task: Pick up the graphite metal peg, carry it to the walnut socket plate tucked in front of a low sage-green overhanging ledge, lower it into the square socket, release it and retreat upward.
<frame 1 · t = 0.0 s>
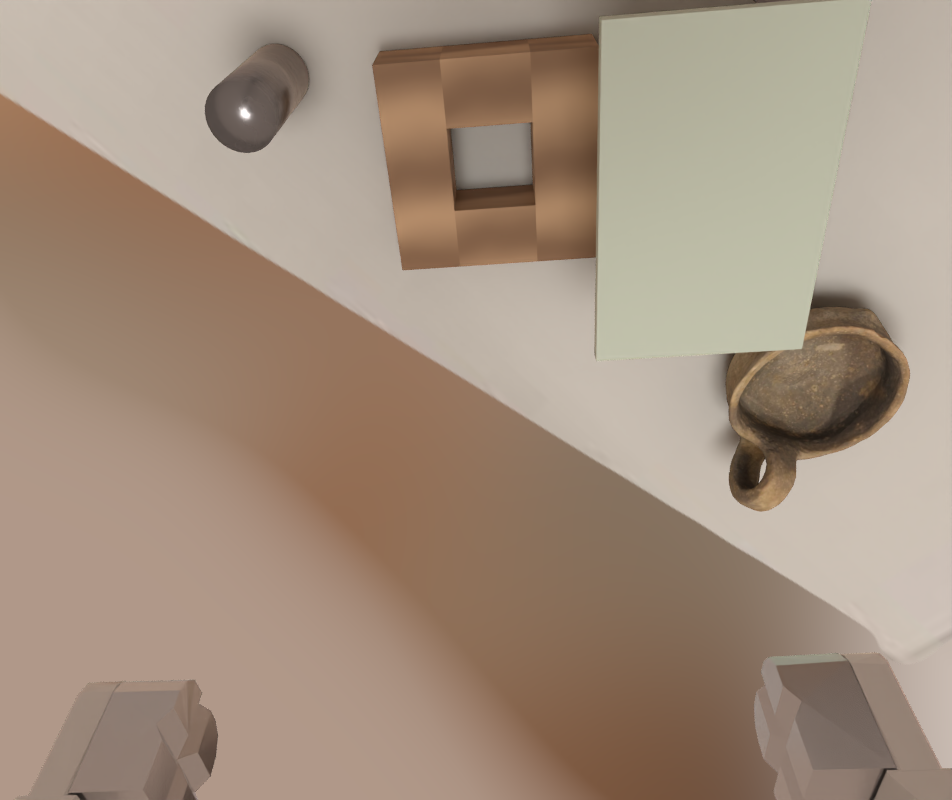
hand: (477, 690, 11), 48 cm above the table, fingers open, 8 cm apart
awning: (689, 166, 48), on the table
peg: (279, 75, 52), on the table
socket plate: (491, 149, 54), on the table
brown rounded scoop: (780, 371, 65), on the table
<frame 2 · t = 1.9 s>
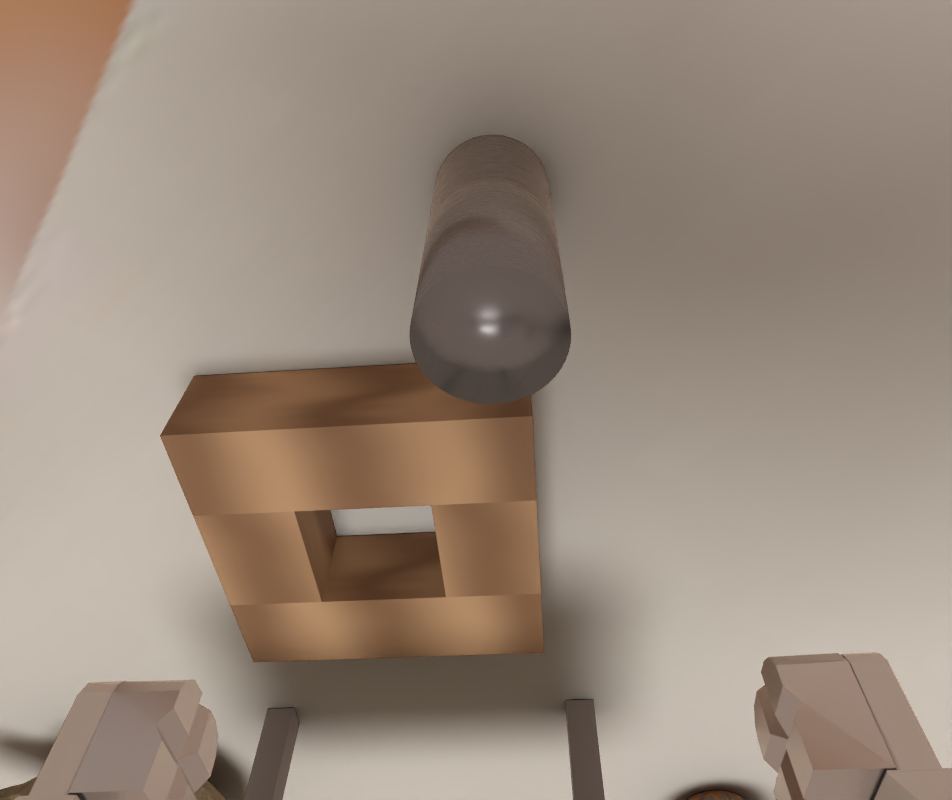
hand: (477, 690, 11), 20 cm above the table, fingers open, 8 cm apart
awning: (407, 769, 38), on the table
peg: (492, 192, 27), on the table
socket plate: (384, 491, 36), on the table
brown rounded scoop: (129, 762, 51), on the table
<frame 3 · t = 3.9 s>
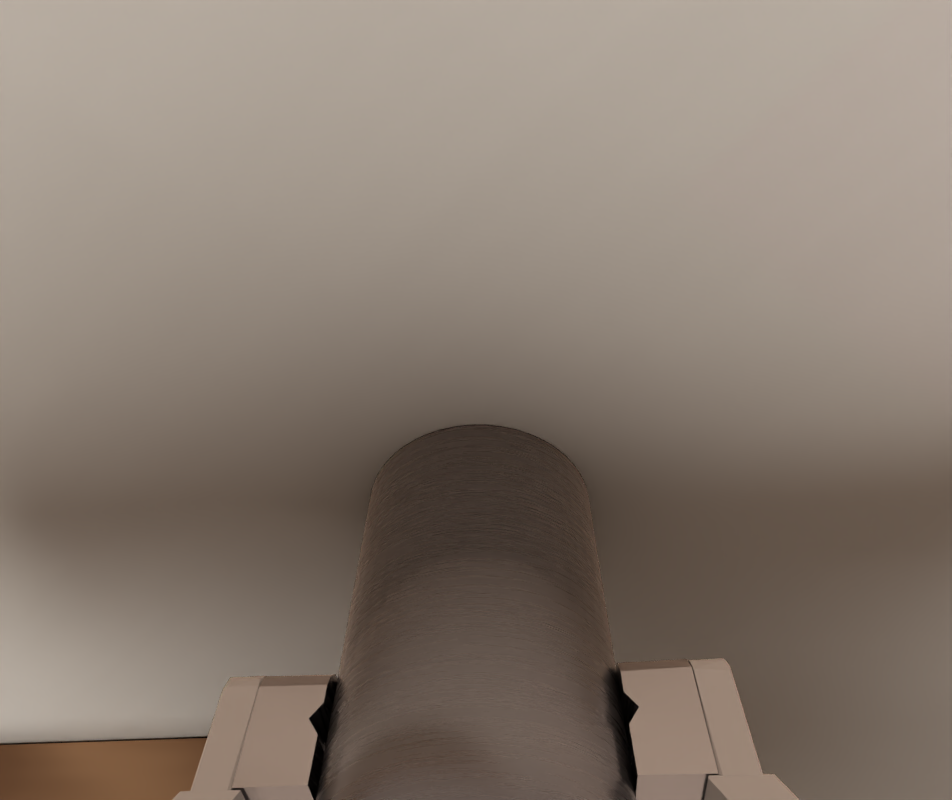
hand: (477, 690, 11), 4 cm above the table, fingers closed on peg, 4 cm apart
peg: (479, 511, 14), on the table, touching gripper
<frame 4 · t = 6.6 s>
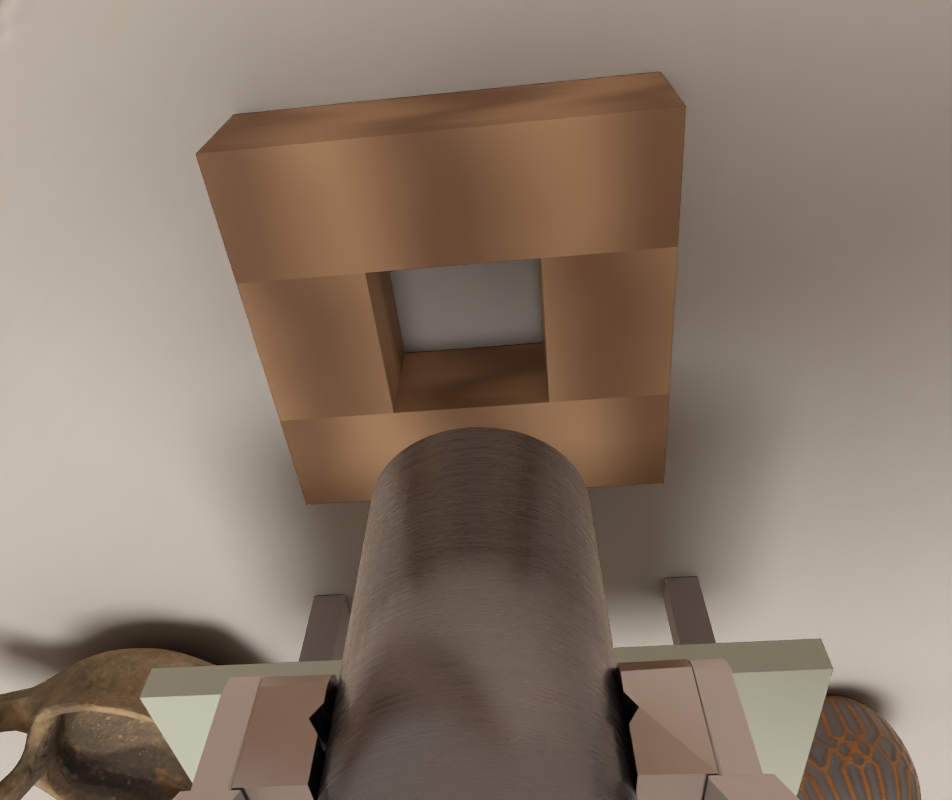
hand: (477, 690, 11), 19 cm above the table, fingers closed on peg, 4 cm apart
awning: (494, 635, 31), on the table
vase: (822, 710, 45), on the table
peg: (480, 513, 14), point 16 cm above the table, touching gripper
socket plate: (465, 285, 29), on the table
brown rounded scoop: (153, 671, 44), on the table
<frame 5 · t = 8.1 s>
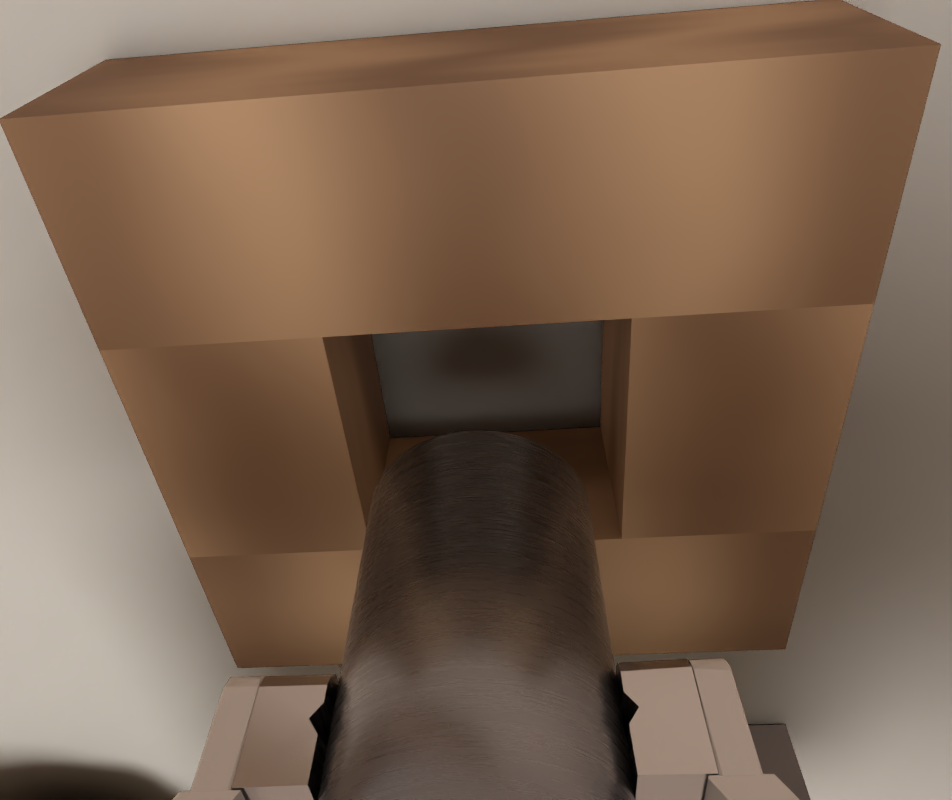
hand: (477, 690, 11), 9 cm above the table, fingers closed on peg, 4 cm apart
peg: (479, 516, 14), point 6 cm above the table, touching gripper
socket plate: (487, 343, 19), on the table
when the fingers open (5 cm above the table, at t = 9.4 s): peg drops 1 cm, resting in socket plate.
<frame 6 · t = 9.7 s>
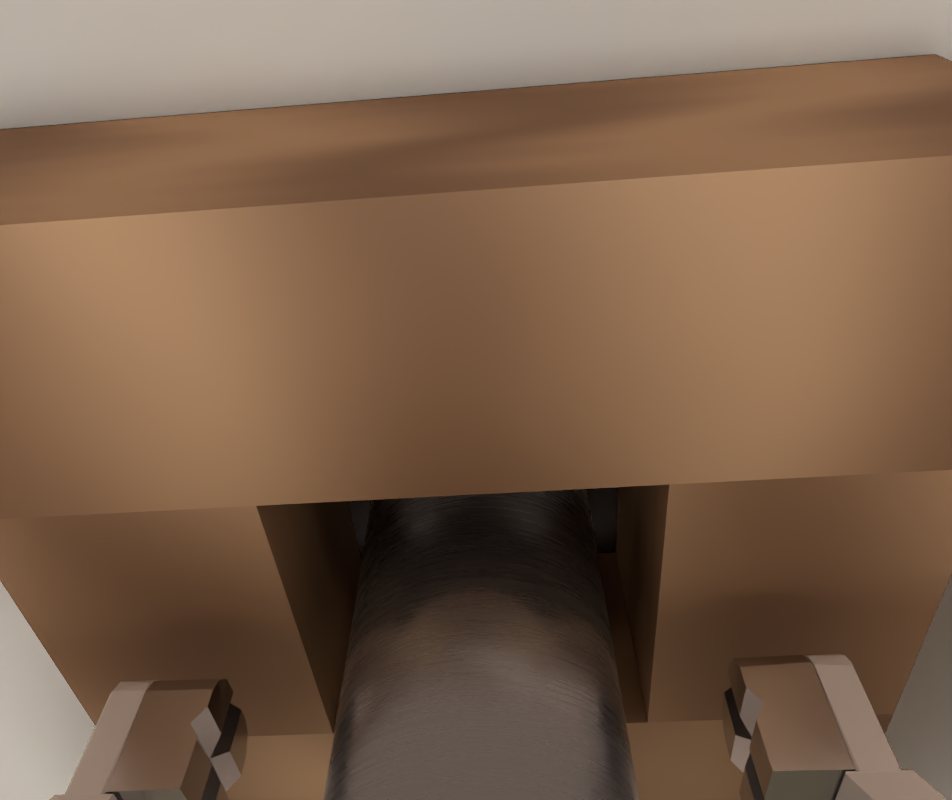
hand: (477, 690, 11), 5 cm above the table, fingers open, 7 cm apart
peg: (479, 464, 15), resting in socket plate
socket plate: (478, 461, 15), on the table
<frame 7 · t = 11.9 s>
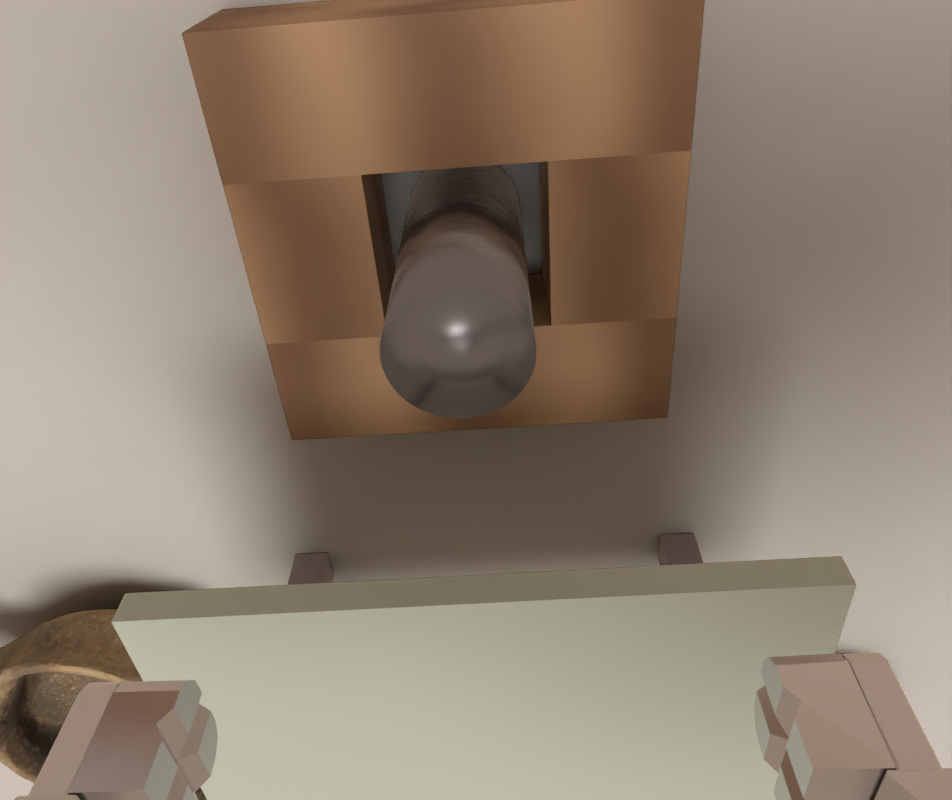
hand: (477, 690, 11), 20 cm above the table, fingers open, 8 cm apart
awning: (488, 581, 29), on the table
peg: (464, 210, 28), resting in socket plate
socket plate: (463, 208, 28), on the table
brown rounded scoop: (122, 639, 42), on the table
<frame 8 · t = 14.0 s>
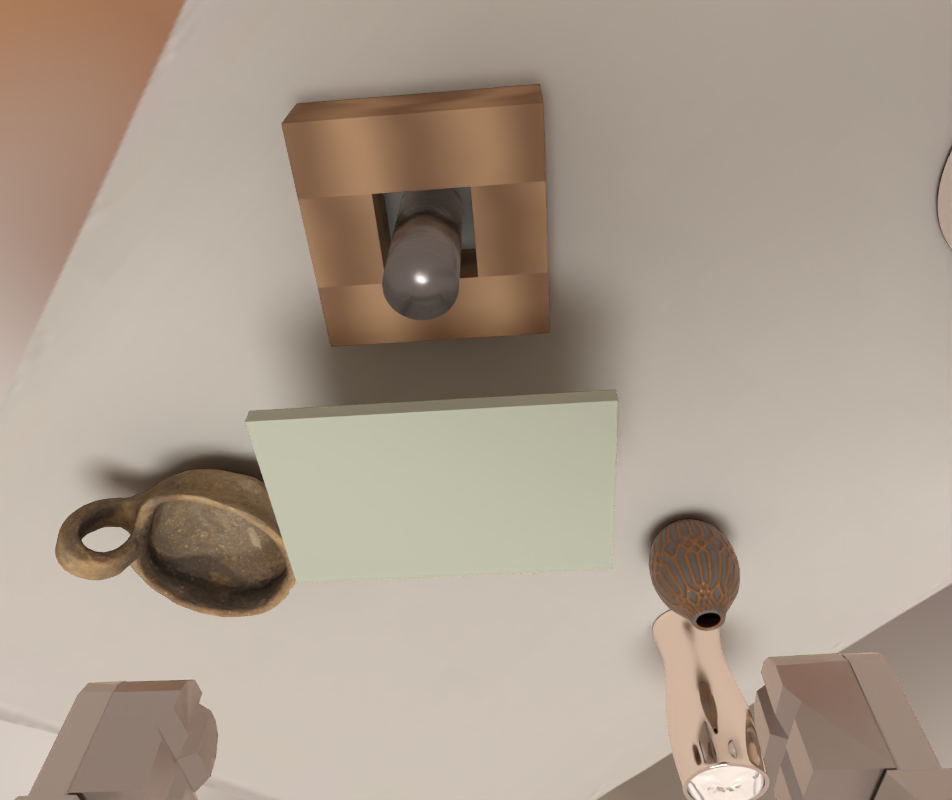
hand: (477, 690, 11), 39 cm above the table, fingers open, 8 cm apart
awning: (446, 432, 50), on the table
cream rounded piece: (684, 625, 71), on the table
vase: (683, 534, 64), on the table
peg: (431, 211, 48), resting in socket plate
socket plate: (430, 210, 48), on the table
brown rounded scoop: (211, 499, 63), on the table
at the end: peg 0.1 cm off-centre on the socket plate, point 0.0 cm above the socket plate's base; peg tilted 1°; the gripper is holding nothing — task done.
